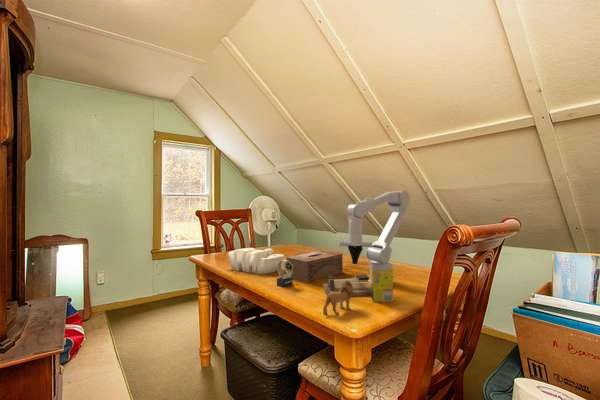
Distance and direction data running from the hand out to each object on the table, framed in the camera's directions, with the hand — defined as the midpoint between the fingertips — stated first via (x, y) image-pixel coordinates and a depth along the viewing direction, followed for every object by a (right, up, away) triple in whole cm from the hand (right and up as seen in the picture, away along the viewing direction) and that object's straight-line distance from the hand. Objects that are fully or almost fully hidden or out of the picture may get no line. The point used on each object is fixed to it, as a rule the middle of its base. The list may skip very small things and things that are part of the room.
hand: (354, 263), depth 120 cm
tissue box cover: (-16, -11, +21) cm, 28 cm away
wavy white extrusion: (-49, -11, +36) cm, 62 cm away
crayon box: (+7, -10, -17) cm, 21 cm away
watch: (-30, -11, +4) cm, 32 cm away
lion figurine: (-10, -10, -25) cm, 29 cm away
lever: (-4, -8, -6) cm, 11 cm away
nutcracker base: (-4, -10, -6) cm, 12 cm away
